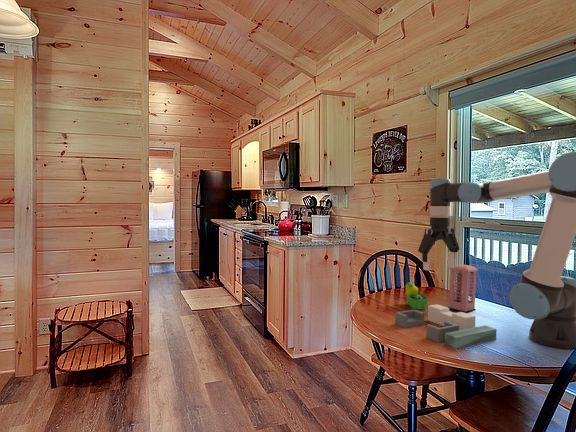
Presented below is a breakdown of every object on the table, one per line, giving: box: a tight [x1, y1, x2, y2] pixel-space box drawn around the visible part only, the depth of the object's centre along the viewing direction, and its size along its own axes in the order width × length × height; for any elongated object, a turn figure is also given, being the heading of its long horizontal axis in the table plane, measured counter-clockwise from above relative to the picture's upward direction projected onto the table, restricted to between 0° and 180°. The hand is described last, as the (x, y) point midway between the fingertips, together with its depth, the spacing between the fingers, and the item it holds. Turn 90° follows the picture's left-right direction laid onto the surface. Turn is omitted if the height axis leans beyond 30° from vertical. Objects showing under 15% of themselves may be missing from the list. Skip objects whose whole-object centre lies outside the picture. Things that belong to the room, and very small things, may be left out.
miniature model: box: [447, 264, 479, 314], centre depth 174 cm, size 9×9×20 cm
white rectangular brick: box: [427, 303, 476, 330], centre depth 152 cm, size 18×5×6 cm, turn 26°
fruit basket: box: [405, 281, 429, 311], centre depth 178 cm, size 11×9×11 cm
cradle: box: [394, 309, 459, 343], centre depth 146 cm, size 22×10×4 cm, turn 26°
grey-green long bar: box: [444, 324, 497, 349], centre depth 136 cm, size 4×20×4 cm, turn 116°
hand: (438, 268), depth 161 cm, fingers open, 13 cm apart
